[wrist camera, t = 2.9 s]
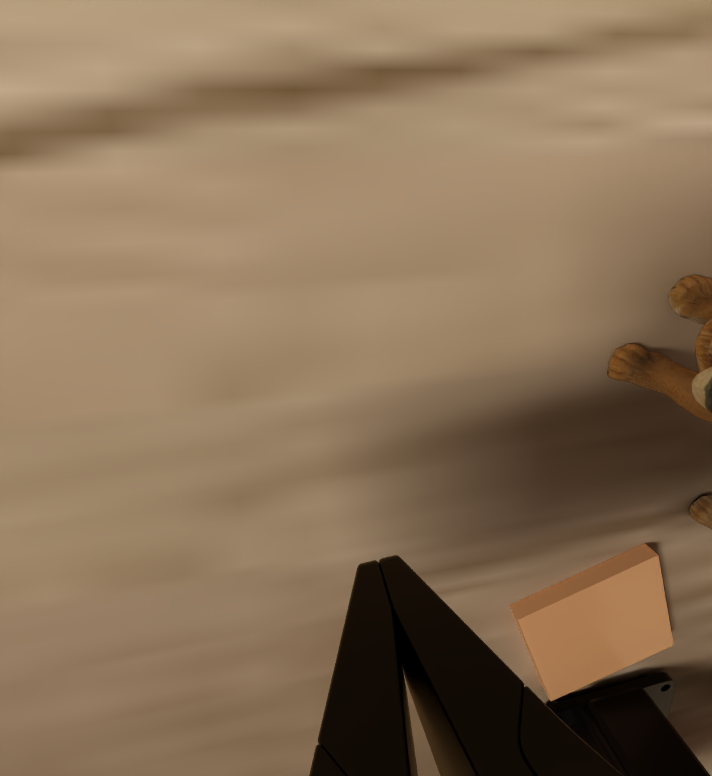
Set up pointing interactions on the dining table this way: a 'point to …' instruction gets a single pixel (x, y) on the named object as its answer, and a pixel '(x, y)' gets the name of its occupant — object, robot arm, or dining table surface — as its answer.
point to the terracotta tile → (596, 621)
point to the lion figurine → (678, 366)
